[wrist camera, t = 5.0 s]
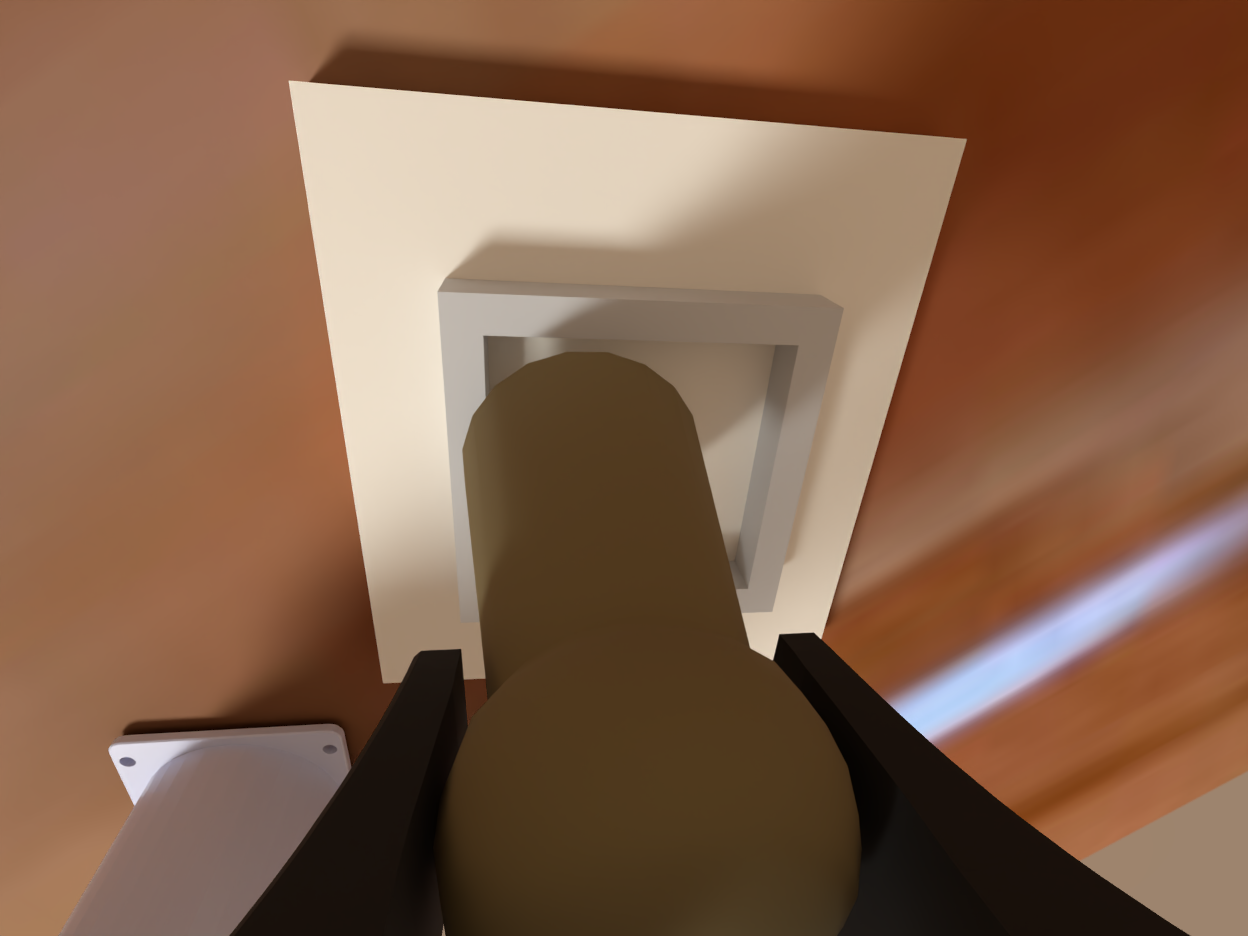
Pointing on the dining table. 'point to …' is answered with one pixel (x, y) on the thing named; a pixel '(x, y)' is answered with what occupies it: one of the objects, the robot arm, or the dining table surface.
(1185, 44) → the dining table surface
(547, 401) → the cork
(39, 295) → the dining table surface
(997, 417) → the dining table surface
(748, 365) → the holder board
